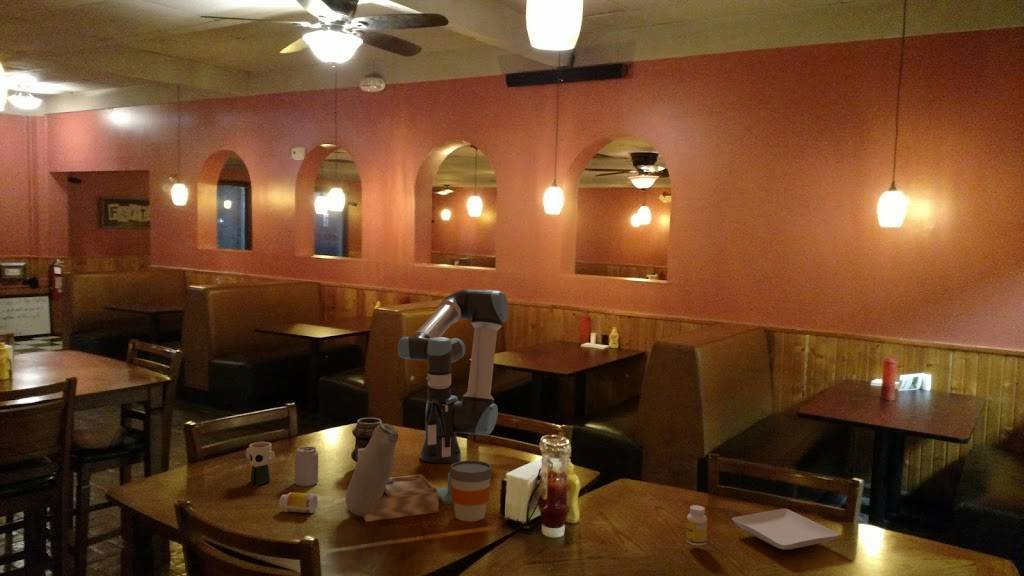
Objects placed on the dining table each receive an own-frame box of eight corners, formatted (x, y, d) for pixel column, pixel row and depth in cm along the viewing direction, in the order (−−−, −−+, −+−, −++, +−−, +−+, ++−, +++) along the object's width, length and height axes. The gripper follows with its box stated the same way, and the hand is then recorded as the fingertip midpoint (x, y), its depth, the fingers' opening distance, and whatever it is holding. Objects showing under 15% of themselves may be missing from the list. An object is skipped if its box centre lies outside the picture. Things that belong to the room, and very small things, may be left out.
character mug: (239, 484, 244) (239, 445, 243) (253, 478, 251) (253, 440, 250) (267, 488, 241) (267, 449, 240) (280, 481, 247) (280, 443, 247)
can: (321, 481, 249) (321, 446, 248) (313, 488, 242) (313, 452, 241) (299, 479, 250) (300, 444, 249) (291, 487, 242) (291, 451, 242)
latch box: (422, 494, 238) (422, 473, 238) (438, 512, 224) (438, 489, 223) (354, 503, 229) (354, 481, 229) (365, 521, 215) (365, 497, 214)
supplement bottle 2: (683, 538, 208) (684, 504, 208) (702, 538, 209) (703, 504, 208) (689, 546, 203) (691, 511, 202) (708, 546, 204) (710, 511, 203)
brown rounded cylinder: (379, 515, 221) (412, 431, 218) (360, 525, 212) (394, 437, 208) (353, 499, 225) (385, 416, 221) (333, 508, 215) (366, 421, 212)
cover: (466, 489, 246) (467, 465, 246) (480, 501, 235) (480, 476, 235) (432, 493, 241) (432, 469, 241) (444, 505, 230) (444, 480, 230)
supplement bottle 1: (317, 490, 222) (284, 487, 223) (310, 501, 217) (276, 498, 218) (319, 505, 224) (286, 503, 225) (312, 517, 219) (279, 514, 220)
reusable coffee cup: (459, 526, 213) (460, 475, 212) (442, 511, 224) (443, 463, 223) (498, 519, 219) (499, 469, 218) (480, 505, 230) (481, 458, 229)
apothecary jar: (391, 472, 260) (392, 421, 259) (359, 477, 254) (359, 426, 252) (377, 463, 270) (377, 414, 269) (345, 468, 264) (346, 418, 262)
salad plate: (782, 556, 198) (782, 544, 198) (729, 527, 218) (730, 516, 218) (840, 545, 207) (841, 533, 207) (785, 518, 226) (785, 507, 226)
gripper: (415, 379, 248) (415, 440, 250) (441, 395, 226) (441, 463, 228) (437, 377, 251) (436, 438, 253) (464, 393, 229) (463, 460, 231)
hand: (438, 450), depth 241 cm, fingers open, 13 cm apart
